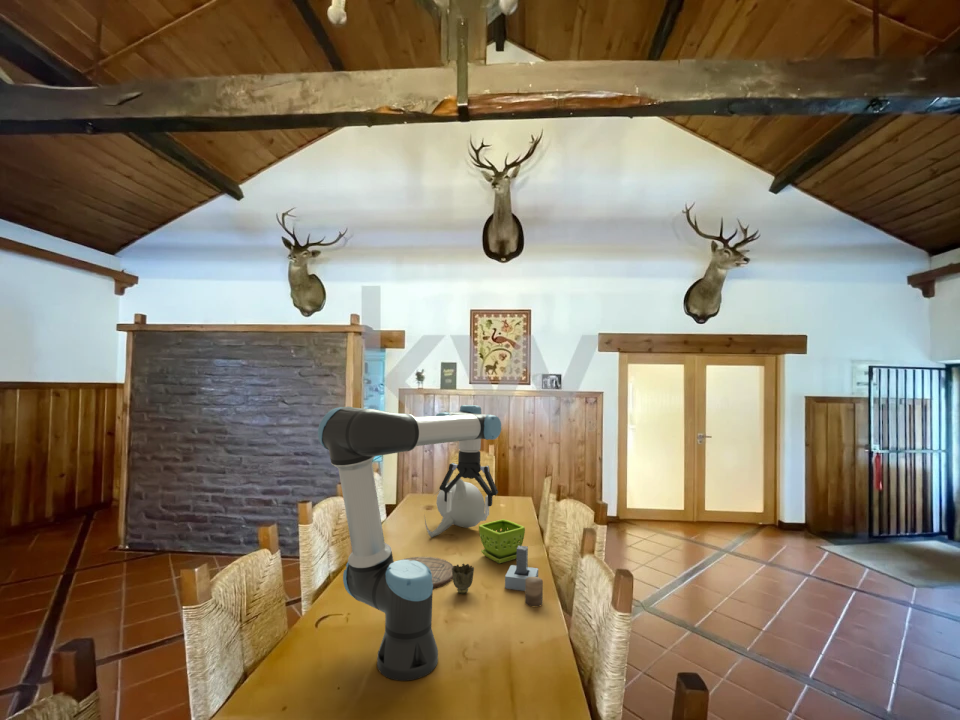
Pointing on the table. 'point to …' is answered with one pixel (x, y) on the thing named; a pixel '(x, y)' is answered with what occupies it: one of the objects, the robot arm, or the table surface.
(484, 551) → the flower pot
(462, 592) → the ornate candle holder
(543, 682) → the table surface
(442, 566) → the trivet
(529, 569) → the bore block
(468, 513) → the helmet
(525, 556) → the square bit
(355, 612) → the table surface
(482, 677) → the table surface
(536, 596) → the brown short cylinder
